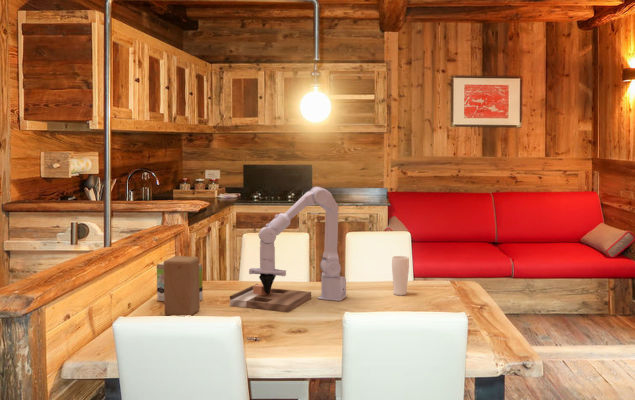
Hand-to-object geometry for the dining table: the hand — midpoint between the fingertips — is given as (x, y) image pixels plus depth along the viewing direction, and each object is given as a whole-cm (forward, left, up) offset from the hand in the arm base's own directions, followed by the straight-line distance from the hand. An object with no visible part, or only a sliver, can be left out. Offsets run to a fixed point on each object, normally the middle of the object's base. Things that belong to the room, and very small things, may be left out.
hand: (267, 293), depth 250 cm
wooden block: (+21, +26, -3) cm, 34 cm away
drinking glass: (-45, -30, -3) cm, 54 cm away
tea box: (+32, +11, -3) cm, 34 cm away
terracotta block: (+4, -2, -1) cm, 4 cm away
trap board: (-3, 0, -3) cm, 4 cm away
